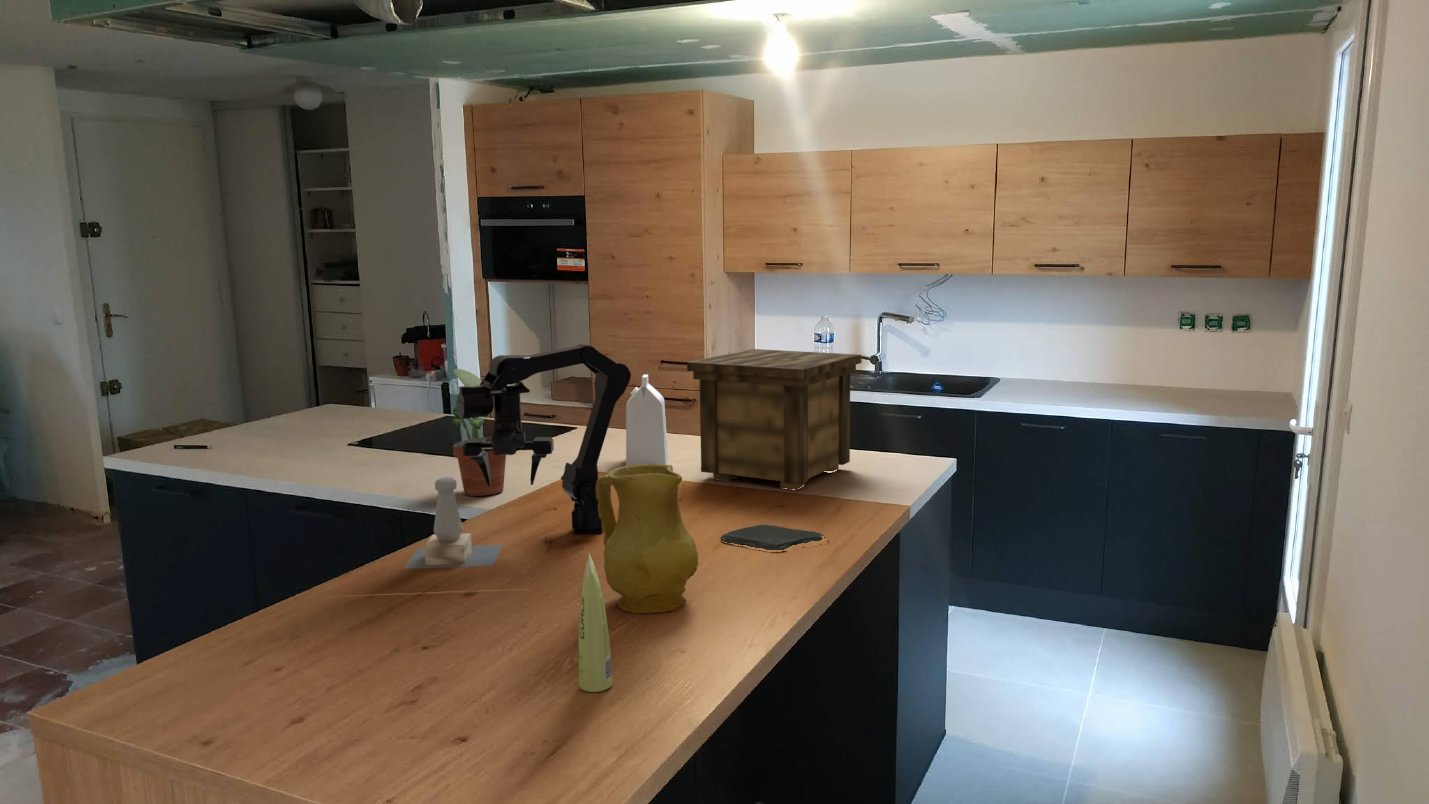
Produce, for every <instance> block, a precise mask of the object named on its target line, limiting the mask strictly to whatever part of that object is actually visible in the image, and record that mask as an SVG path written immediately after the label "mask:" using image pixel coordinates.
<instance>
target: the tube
mask: <svg viewBox="0 0 1429 804" xmlns="http://www.w3.org/2000/svg"><path fill="white" fill-rule="evenodd" d="M600 583H601V582H600V579H599V576H598V572H597V568H596V566H595V563H594V561H593V558H592V556H591V553H590V552H588V558H587V561H586V565H585V569H584V574H583V580H582V590H581V591H582V592H581V597H580V598H581V600H580V610H579V621H578V622H579V624H578V625H579V626H578V684H579V688H580V689H581V690H583V691H585V692H589V693H599V692H604V691H606V690H608V689H610V688H611V687H612V686H613V672H612V670H613V669H612V657H611V656H612V655H611V645H610V635H609V627H608V626H609V625H608V620H607V614H606V607H605V602H604V597H603V594H602V589H601V584H600Z"/></svg>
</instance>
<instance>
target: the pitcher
mask: <svg viewBox="0 0 1429 804" xmlns="http://www.w3.org/2000/svg"><path fill="white" fill-rule="evenodd" d="M673 470H674V467H673V465H671V464H666V465H661V464H642V465H633V466H626V465H625V466H620V467H617V468H614V469H612V470H610V471H609V472H608V473H606V474H604V475H602V476H600V477H598V480H597V482H596V498H597V500H598V502H599V503H598V512H599V518H600V519H602V523H601V524H602V530H603V534H604V535H603V545H604V550H603V558H604V560H603V561H604V563H603V569H604V573H605V579H606V582H607V585H609V587H610V589H611V590H613V591H614V592H616V593H617V594H619V595H621V597H619V599H618V601H617V605H618V607H619V608H620V609H621V610H623V611H624V612H629V613H633V614H651V613H652V614H657V613H666V612H670V611H671V612H672V611H675V610H678V609H680V608H683V607H685V606H686V601H687V599H686V598H685V597H684V595H683V593H685V592H686V590H687V589H686V588H685V587H686V584H687V582H688V580H690V578H691V577H693V576H694V575H695V573H696V572H697V571H698V565H699V552H698V550H697V546H696V542H695V540H694V539H693V537H692V536H691V534H690V533H689V531H688V529H687V528H686V526H685V524H684V521H683V518H682V514H681V510H680V505H679V500H678V499H679V497H678V496H679V493H678V490H679V485H680V483H682V481H683V477H682V475H681V474H679V473H678V472H676V471H675V472H674V471H673ZM612 486H613V489H614V490H615V492H616V494H617V498H618V499H617V500H618V512H617V513H618V514H617V520H616V517H615V513H614V507H613V501H612Z"/></svg>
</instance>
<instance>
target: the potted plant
mask: <svg viewBox="0 0 1429 804" xmlns="http://www.w3.org/2000/svg"><path fill="white" fill-rule="evenodd" d="M452 371H453V373H454V375H455V376H456V377H457V379H458V380H459V382H460V383H462V385H463V386H467V387H472V386H480V383H481V382H482V380H483V379H481V378H479V377H478V376H477V375H476V374H474V373H472V372H470V371H468V370H464V369H462V368H455V369H453V370H452ZM452 412H453V416H454V417H453V418H452V420H451V424H452V425H453V427H454V428H455V429H458V428H459V425H460V424H462V427H463V428H464V430H465V431H466V435H467V440H462V441H457V442H455V443H454V444H453V445H452V449H453V457H454V458H455V459H457V464H458V467H459V472H460V479H461V483H462V489H463V493H464V495H467V496H477V497H478V496H490V495H491V496H492V495H495V494H498V493H501V492H502V493H503V491H504V486H505V475H506V473H505V472H506V460H507V459H506V457H507V456H508V454H500V455H494V454H493V451H485V452H488V460H489V469H490V477H491V485H490V486H488V485H487V482H486V480H485V478H484V475H483V473H482V470H481V468H480V467H479V465H478V463H477V462H476V461H475V460H471V459H470V456H463V445H464V444H465V443H466V442H467V441H468V440H469V439H479V438H480V430H481V427H482V426H483V425H484V423H485V418H483V417H477V418H467V419H460V418H459V416H458V412H457V407H456V406H455V407H454V408H453V410H452ZM467 420H468V423H469V424H470V425H471V429H472V430H471V433H470V430H469V429H468V424H467ZM484 438H485V441H486V442H492V437H484Z"/></svg>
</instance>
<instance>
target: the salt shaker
mask: <svg viewBox="0 0 1429 804" xmlns="http://www.w3.org/2000/svg"><path fill="white" fill-rule="evenodd" d="M434 489H435V490H436V491H437V500H436V509H435V515H434V516H435V517H434V522H433V523H434V525H433V533H434V535H436V537H437V538H438V540H439V541H441V542H453V541H456V540H459V538H460V535H461V534H462V531H463V524H462V520H461V516H460V511H459V508H458V503H457V500H456V495H455V491H454V490H456V489H457V480H456V479H455V478H454V477H449V476H447V477H441V478H438V479H436V480H435V482H434Z"/></svg>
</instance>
